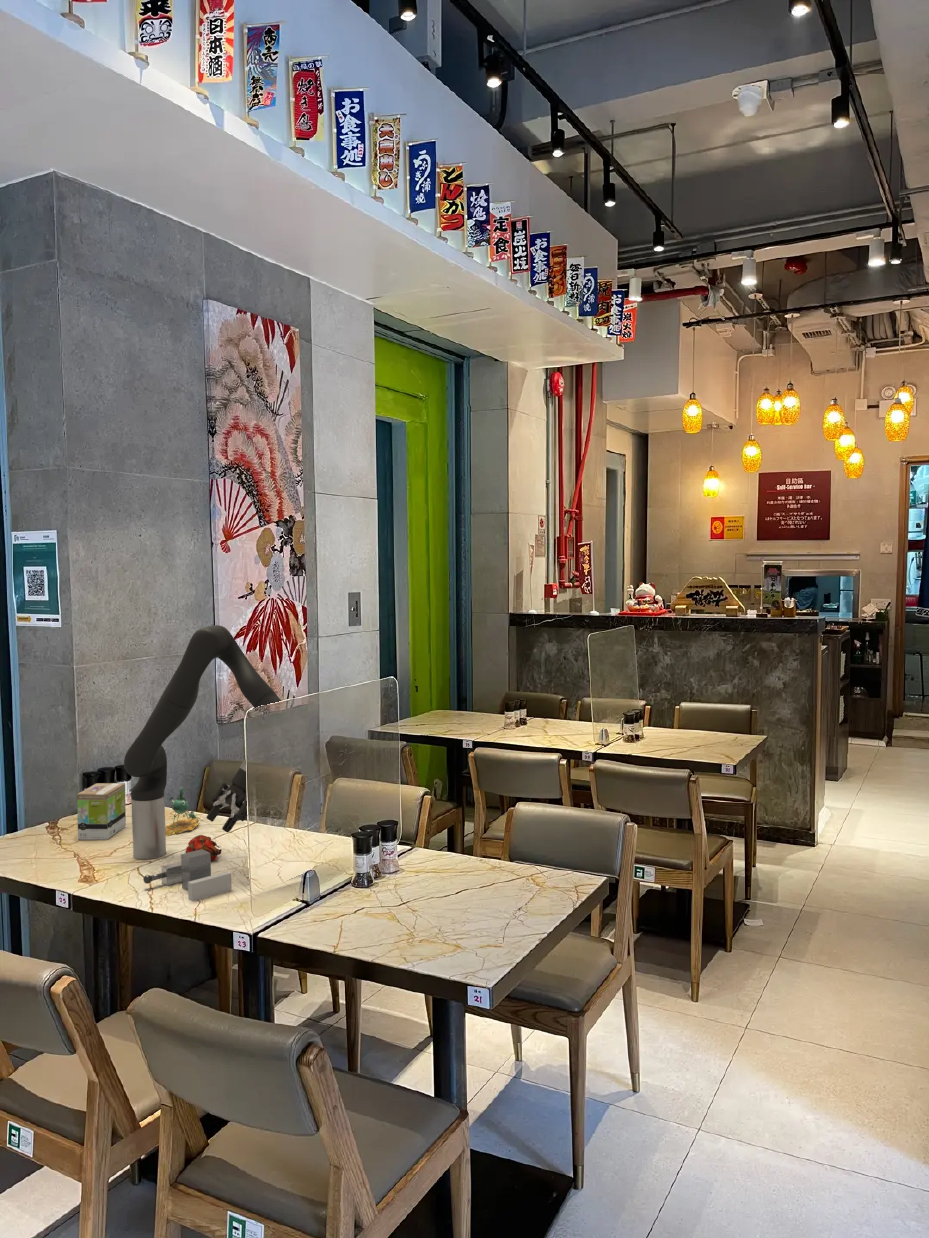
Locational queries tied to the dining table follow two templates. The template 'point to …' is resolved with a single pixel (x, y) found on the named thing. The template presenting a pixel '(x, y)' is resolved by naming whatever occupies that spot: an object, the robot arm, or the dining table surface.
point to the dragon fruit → (204, 846)
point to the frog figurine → (180, 808)
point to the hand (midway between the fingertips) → (216, 825)
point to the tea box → (101, 811)
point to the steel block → (195, 866)
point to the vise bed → (209, 886)
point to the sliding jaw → (167, 874)
